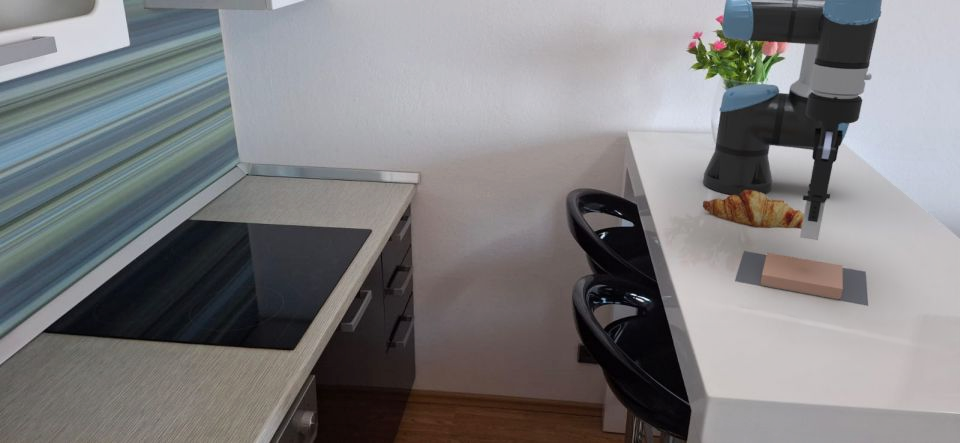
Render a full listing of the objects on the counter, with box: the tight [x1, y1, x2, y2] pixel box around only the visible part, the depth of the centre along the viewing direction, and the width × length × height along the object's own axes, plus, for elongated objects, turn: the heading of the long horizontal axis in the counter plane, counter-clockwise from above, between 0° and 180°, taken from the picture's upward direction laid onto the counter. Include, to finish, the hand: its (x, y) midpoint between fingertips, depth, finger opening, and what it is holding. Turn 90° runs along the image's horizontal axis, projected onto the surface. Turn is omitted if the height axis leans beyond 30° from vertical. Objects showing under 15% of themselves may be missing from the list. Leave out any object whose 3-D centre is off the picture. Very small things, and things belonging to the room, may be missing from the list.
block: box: [760, 252, 844, 301], centre depth 124 cm, size 2×12×10 cm
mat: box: [734, 250, 869, 307], centre depth 126 cm, size 14×20×1 cm
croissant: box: [702, 190, 804, 229], centre depth 151 cm, size 21×10×8 cm, turn 68°
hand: (809, 237), depth 122 cm, fingers closed
